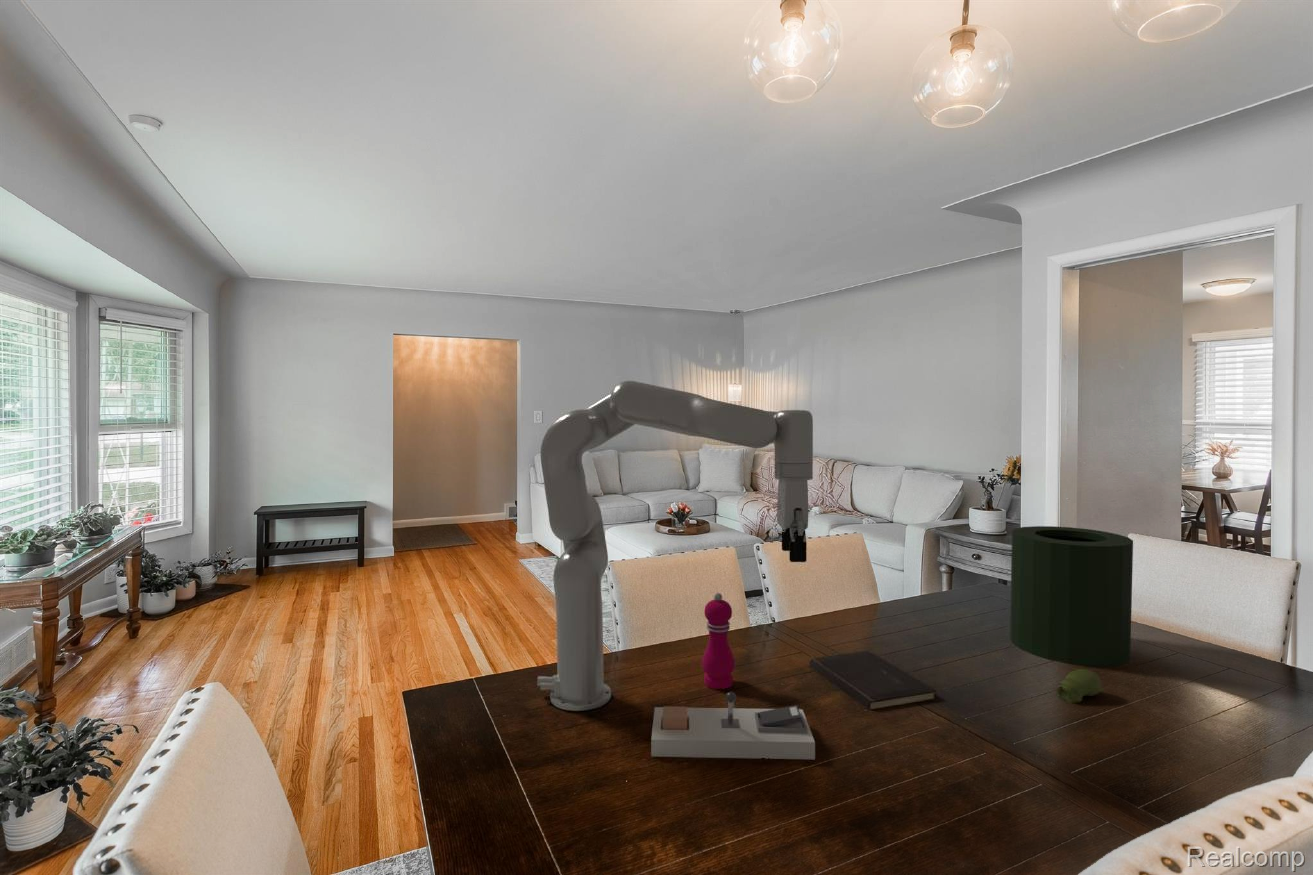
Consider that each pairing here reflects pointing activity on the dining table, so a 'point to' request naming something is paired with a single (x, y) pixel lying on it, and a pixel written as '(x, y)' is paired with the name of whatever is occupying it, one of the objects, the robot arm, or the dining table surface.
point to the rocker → (780, 716)
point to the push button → (674, 718)
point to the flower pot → (1072, 595)
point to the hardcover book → (871, 679)
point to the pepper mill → (718, 645)
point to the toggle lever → (730, 705)
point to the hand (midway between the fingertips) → (793, 555)
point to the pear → (1079, 685)
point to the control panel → (731, 736)
